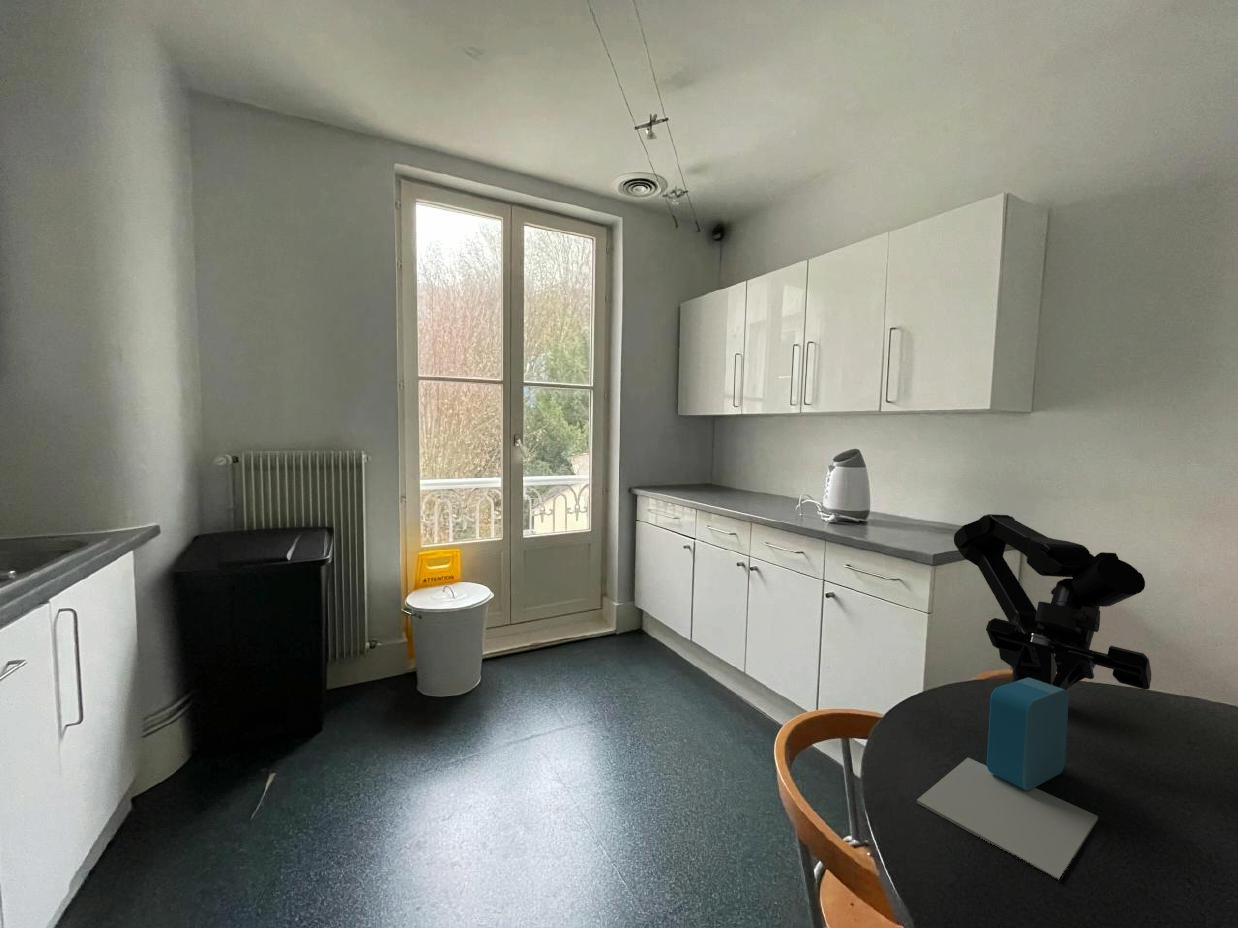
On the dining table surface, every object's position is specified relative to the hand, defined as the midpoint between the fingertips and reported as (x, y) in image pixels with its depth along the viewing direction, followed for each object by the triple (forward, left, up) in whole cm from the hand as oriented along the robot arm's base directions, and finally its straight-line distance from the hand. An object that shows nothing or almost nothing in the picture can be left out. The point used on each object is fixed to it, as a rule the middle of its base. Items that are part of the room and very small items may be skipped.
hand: (1049, 698), depth 74 cm
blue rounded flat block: (+9, 0, -9) cm, 12 cm away
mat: (+20, +1, -9) cm, 21 cm away
